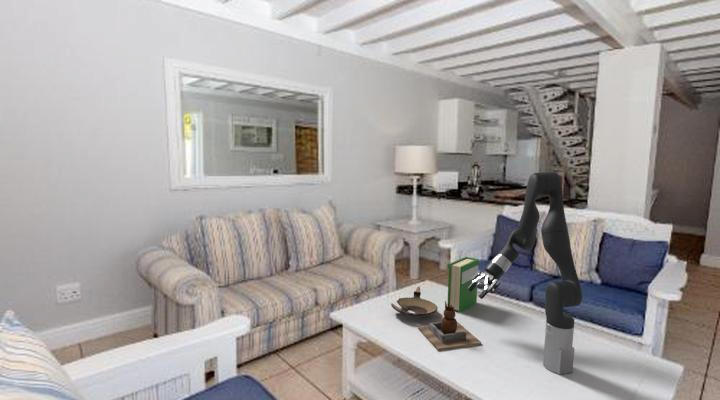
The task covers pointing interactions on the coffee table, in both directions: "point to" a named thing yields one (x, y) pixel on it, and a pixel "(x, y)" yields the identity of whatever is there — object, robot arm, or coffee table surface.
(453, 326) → the wooden figurine
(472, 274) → the hardback book
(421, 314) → the oil lamp
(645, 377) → the coffee table surface
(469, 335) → the keeper cradle
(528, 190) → the robot arm
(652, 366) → the coffee table surface
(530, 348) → the coffee table surface
